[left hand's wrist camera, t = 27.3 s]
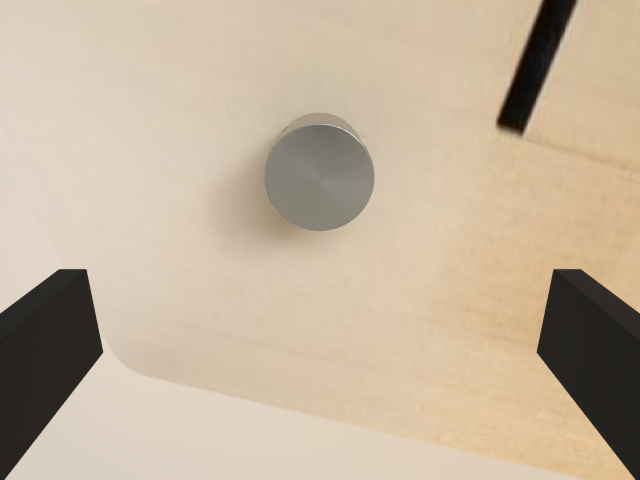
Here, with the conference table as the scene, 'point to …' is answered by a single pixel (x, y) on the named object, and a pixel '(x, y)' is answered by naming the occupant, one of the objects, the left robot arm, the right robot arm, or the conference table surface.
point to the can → (319, 173)
